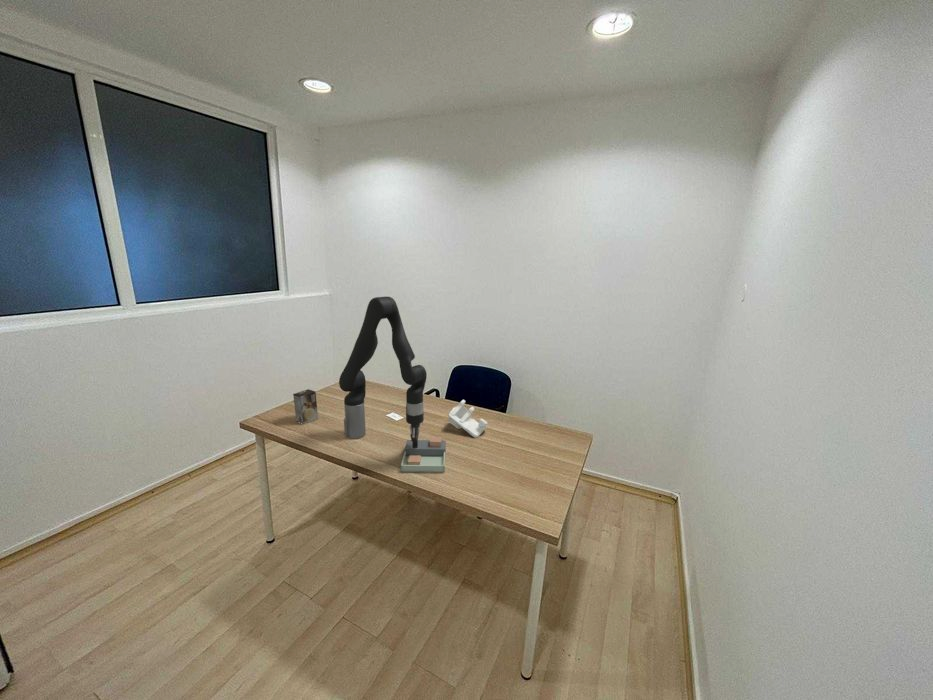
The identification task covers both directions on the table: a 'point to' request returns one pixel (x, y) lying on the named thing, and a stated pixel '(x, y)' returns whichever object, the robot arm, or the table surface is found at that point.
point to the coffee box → (305, 406)
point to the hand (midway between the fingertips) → (415, 447)
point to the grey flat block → (425, 449)
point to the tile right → (435, 441)
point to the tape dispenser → (466, 420)
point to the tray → (424, 464)
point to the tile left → (414, 460)
